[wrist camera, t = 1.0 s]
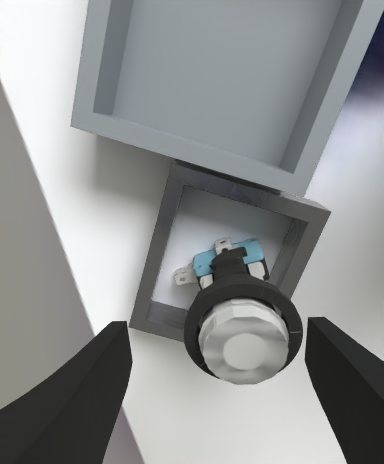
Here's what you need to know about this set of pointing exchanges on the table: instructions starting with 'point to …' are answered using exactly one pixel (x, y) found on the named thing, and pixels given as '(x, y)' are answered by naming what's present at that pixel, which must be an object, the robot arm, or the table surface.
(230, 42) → the bin
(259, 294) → the push button
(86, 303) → the table surface
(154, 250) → the collar
